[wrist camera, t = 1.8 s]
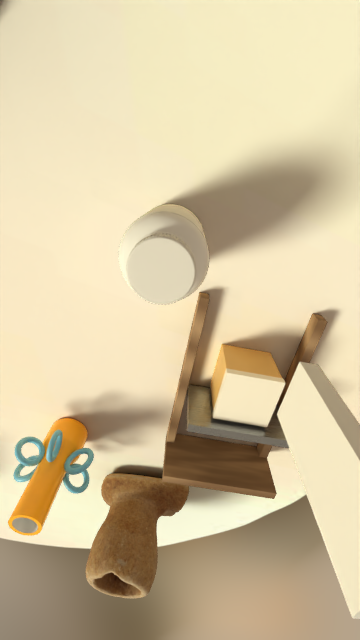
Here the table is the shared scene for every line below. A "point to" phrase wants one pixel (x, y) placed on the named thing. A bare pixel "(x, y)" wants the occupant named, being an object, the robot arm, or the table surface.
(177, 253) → the pill bottle
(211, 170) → the table surface
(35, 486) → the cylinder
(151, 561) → the brown felt boot
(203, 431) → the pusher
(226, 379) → the cream cube
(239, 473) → the lane
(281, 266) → the table surface
